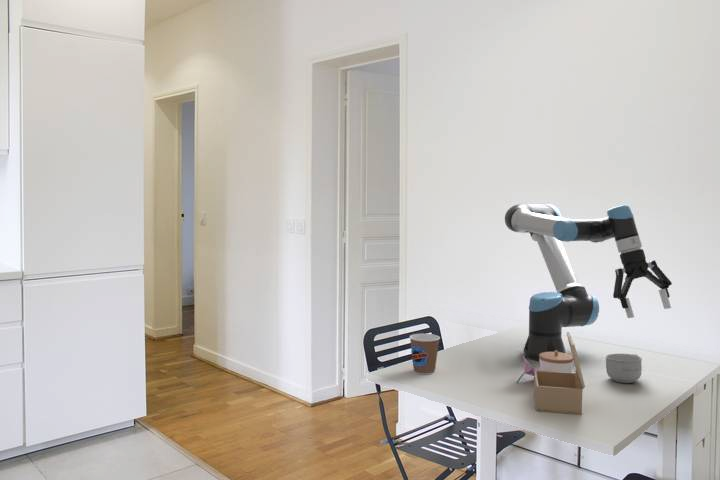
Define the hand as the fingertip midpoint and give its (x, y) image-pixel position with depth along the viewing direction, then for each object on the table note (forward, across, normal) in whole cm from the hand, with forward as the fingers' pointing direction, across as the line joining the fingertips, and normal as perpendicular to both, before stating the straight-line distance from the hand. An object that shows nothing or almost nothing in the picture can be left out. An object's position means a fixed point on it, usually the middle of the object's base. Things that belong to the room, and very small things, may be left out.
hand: (649, 313), depth 202 cm
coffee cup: (+2, -74, +18) cm, 77 cm away
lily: (+13, -46, +2) cm, 47 cm away
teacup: (+19, -14, +2) cm, 24 cm away
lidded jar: (+14, -35, +5) cm, 38 cm away
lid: (+6, -40, -21) cm, 46 cm away
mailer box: (+17, -46, -16) cm, 52 cm away
